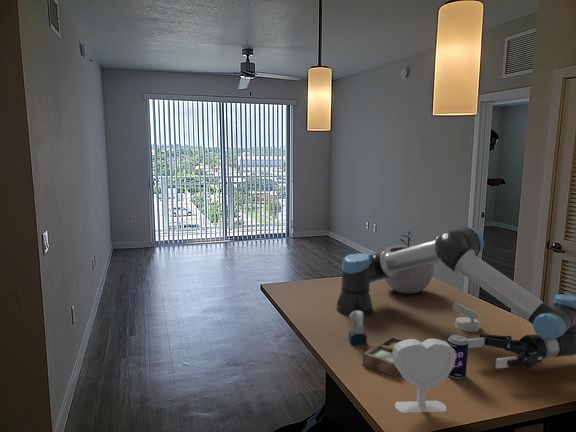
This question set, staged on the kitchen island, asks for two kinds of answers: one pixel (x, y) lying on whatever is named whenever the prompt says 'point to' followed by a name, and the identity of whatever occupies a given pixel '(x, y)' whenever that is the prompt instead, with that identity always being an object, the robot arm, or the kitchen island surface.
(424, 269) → the plant pot
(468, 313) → the wall hook
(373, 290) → the kitchen island surface
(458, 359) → the beverage can
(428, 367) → the heart sculpture
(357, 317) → the watch
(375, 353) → the brown divided tray
